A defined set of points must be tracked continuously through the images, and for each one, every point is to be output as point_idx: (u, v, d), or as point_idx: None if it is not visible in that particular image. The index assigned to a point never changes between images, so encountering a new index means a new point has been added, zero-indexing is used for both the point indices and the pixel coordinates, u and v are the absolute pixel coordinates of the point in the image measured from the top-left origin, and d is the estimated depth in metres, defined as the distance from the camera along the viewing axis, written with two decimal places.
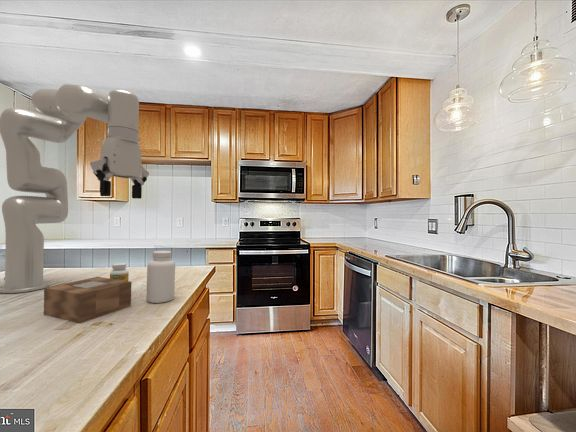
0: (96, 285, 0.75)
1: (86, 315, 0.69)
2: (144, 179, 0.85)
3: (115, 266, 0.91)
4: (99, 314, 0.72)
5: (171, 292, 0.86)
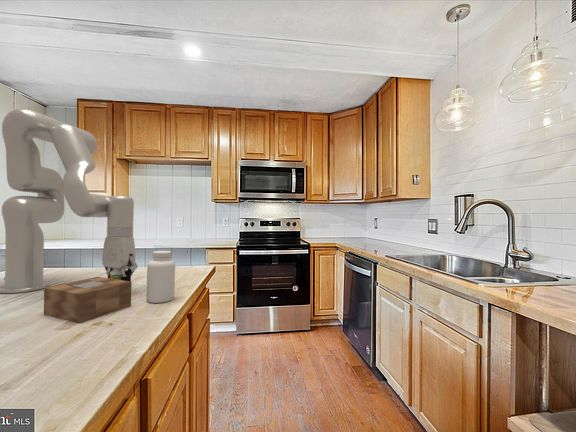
0: (96, 285, 0.75)
1: (86, 315, 0.69)
2: None
3: None
4: (99, 314, 0.72)
5: (171, 292, 0.86)
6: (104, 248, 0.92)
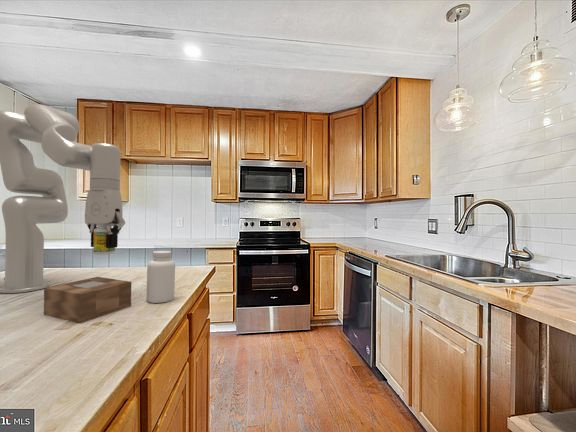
0: (96, 285, 0.75)
1: (86, 315, 0.69)
2: None
3: None
4: (99, 314, 0.72)
5: (171, 292, 0.86)
6: (87, 203, 0.82)
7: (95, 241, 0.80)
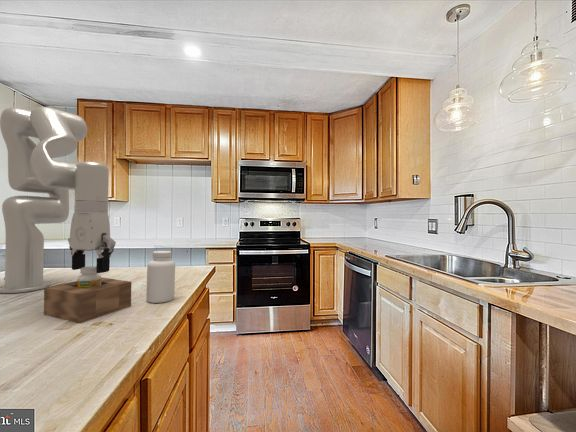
0: None
1: (86, 315, 0.69)
2: None
3: (84, 270, 0.74)
4: (99, 314, 0.72)
5: (171, 292, 0.86)
6: (71, 226, 0.75)
7: None
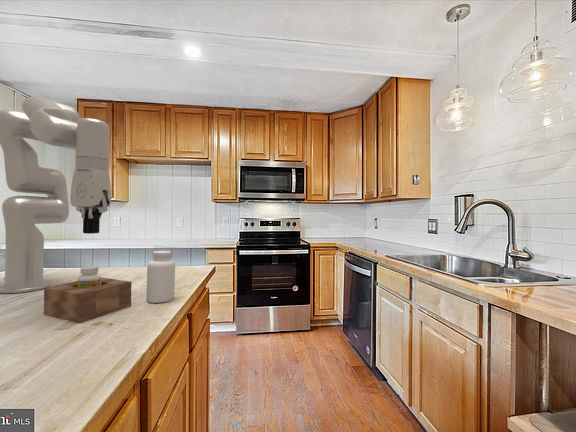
0: None
1: (86, 315, 0.69)
2: None
3: (84, 270, 0.74)
4: (99, 314, 0.72)
5: (171, 292, 0.86)
6: (72, 184, 0.75)
7: None
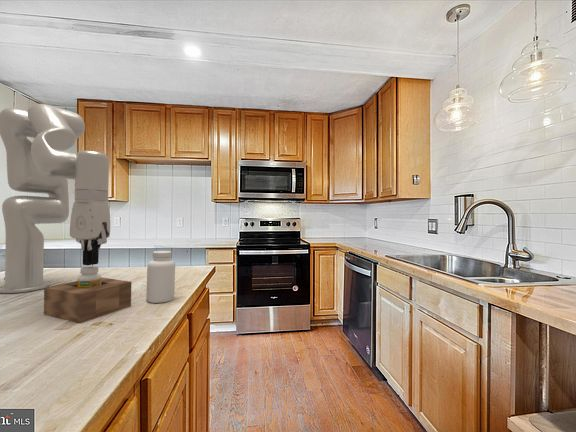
0: None
1: (86, 315, 0.69)
2: None
3: (84, 270, 0.74)
4: (99, 314, 0.72)
5: (171, 292, 0.86)
6: (72, 215, 0.75)
7: None
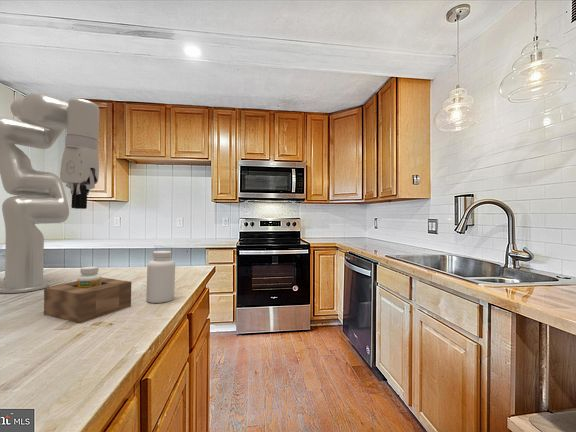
0: None
1: (86, 315, 0.69)
2: None
3: (84, 270, 0.74)
4: (99, 314, 0.72)
5: (171, 292, 0.86)
6: (62, 161, 0.79)
7: None
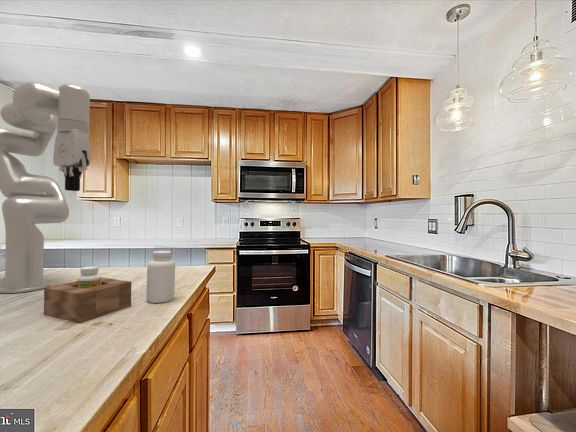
0: None
1: (86, 315, 0.69)
2: None
3: (84, 270, 0.74)
4: (99, 314, 0.72)
5: (171, 292, 0.86)
6: (55, 145, 0.82)
7: None
